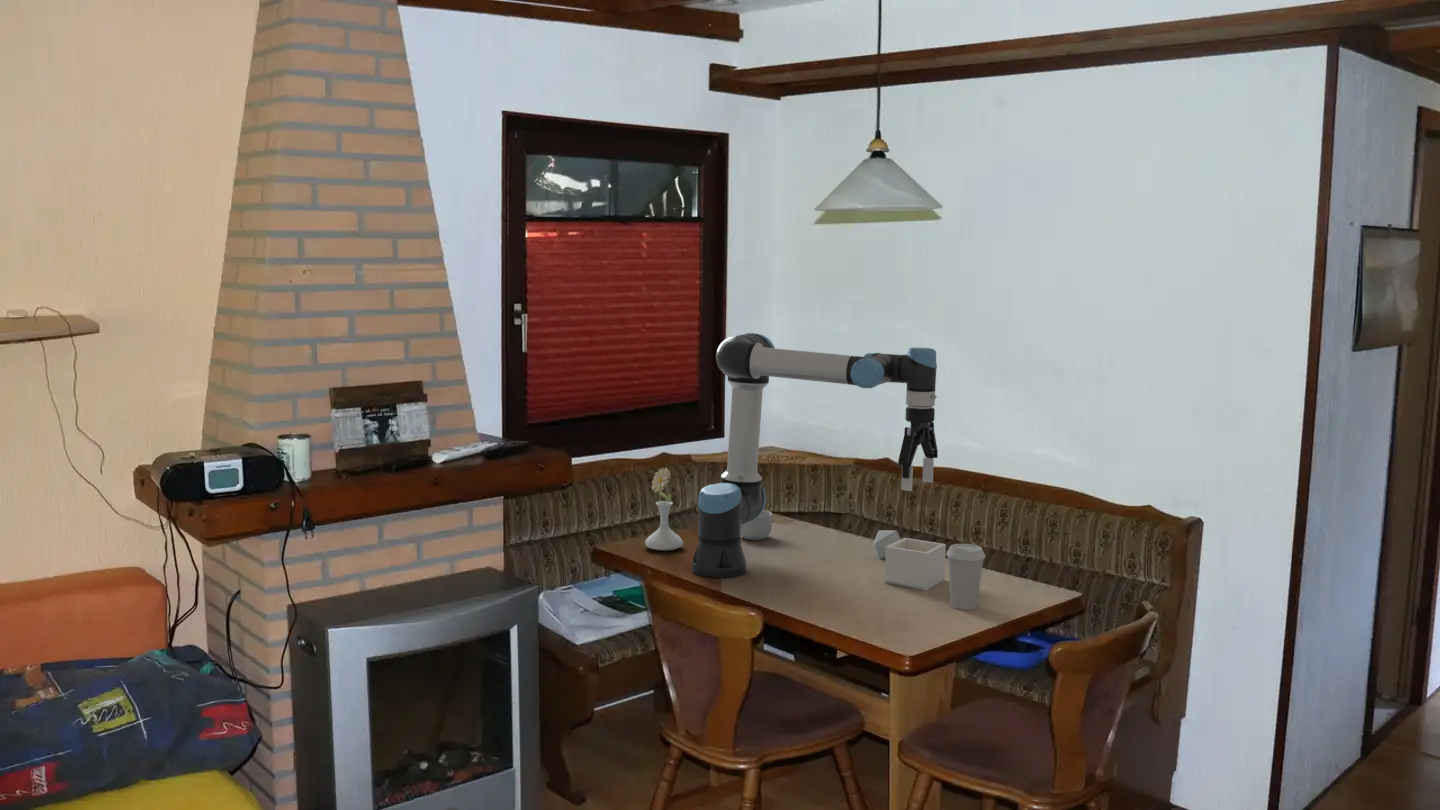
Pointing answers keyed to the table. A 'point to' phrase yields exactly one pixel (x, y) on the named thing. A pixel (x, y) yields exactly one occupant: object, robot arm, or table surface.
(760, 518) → the teacup
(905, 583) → the white open box
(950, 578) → the coffee cup
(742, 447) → the robot arm
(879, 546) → the die
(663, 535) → the flower in vase
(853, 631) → the table surface
